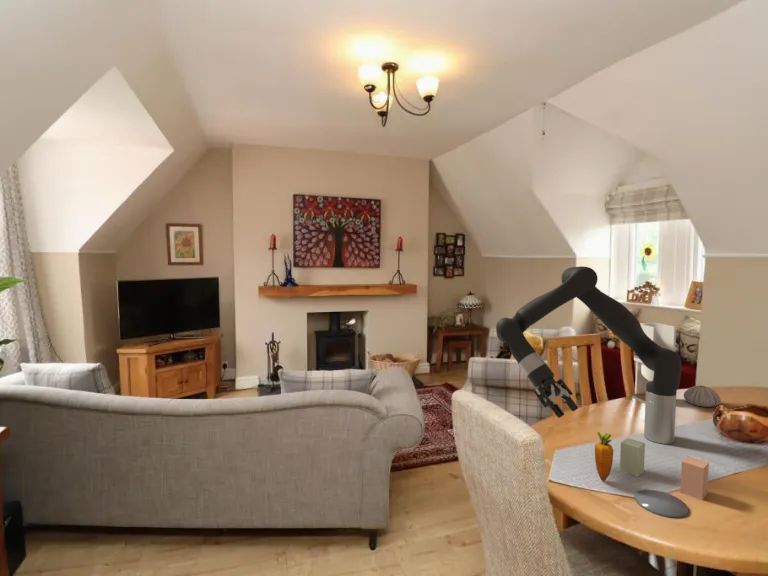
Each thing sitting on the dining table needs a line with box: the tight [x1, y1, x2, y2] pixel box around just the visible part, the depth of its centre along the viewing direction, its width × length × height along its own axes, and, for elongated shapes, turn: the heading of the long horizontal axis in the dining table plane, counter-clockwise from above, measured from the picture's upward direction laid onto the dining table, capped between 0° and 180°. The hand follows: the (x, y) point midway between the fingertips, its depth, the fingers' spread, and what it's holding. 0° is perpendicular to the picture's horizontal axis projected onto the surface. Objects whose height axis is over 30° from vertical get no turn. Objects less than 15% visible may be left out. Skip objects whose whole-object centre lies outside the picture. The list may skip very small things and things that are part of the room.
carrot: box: [594, 431, 614, 482], centre depth 125 cm, size 5×5×15 cm
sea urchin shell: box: [683, 385, 722, 408], centre depth 189 cm, size 13×14×8 cm
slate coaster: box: [634, 489, 689, 519], centre depth 114 cm, size 12×12×1 cm
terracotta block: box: [679, 455, 710, 501], centre depth 118 cm, size 5×5×9 cm
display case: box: [632, 322, 677, 405], centre depth 191 cm, size 11×11×35 cm
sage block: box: [619, 437, 646, 477], centre depth 131 cm, size 5×5×9 cm
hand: (568, 413), depth 132 cm, fingers open, 8 cm apart
